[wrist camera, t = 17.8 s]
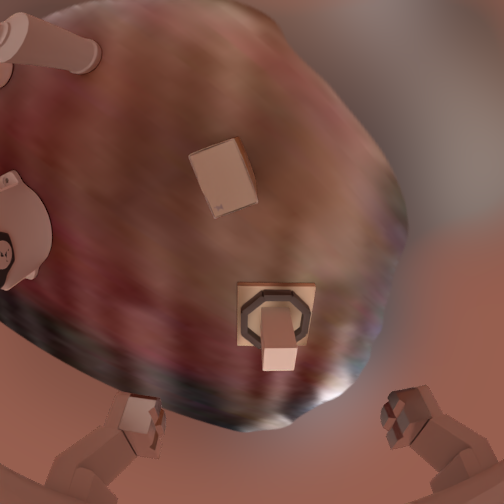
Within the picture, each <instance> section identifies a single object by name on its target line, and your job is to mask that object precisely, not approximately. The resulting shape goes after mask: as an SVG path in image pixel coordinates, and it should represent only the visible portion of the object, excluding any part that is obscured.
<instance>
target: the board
mask: <svg viewBox="0 0 504 504" xmlns="http://www.w3.org/2000/svg"><path fill="white" fill-rule="evenodd" d="M315 289H316V286H315V283H249V282H238V306H237V346H255V347H257V348H258V349H260V348H261V333H260V323H261V307H289V310H290V315H291V319H292V324H293V329H294V334H295V338H296V343H297V345H306V343H307V338H308V332H309V326H310V320H311V314H312V308H313V302H314V295H315ZM261 350H262V349H261Z"/></svg>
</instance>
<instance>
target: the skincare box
mask: <svg viewBox="0 0 504 504" xmlns="http://www.w3.org/2000/svg"><path fill="white" fill-rule="evenodd" d="M188 158H189V160H190V163H191V165H192V168H193V170H194V173H195V175H196V178H197V180H198V183H199V185H200V187H201V190H202V192H203V194H204V197H205V199H206V201H207V204H208V206H209V208H210V211H211V213H212V215H213V218H214V219H216V218H219V217H222V216H225V215H227V214H230V213H233V212H236V211H239V210H242V209H244V208H247V207H249V206H252V205H254V204H257V203H258V196H257V186H256V178H255V175H254V172H253V169H252V166H251V164H250V161H249V158H248V156H247V153H246V151H245V148H244V146H243V144H242V141H241V139H240V137H235V138H232V139H229V140H226V141H223V142H220V143H217V144H214V145H211V146H209V147H206V148H203V149H201V150H198V151H196V152H194V153H191V154H189V157H188Z"/></svg>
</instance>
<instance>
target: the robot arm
mask: <svg viewBox="0 0 504 504" xmlns="http://www.w3.org/2000/svg"><path fill="white" fill-rule="evenodd" d="M51 243H52V230H51V224H50V220H49V216H48V213H47V211H46V209H45V206H44V205H43V203H42V201H41V200H40V198H39V197H38V196H37V194H36V193H35V192H34V191H33V190H31V189H30V188H29V187H28V186H26V185H25V184H24V183H23V181H22V179H21V177H20V176H19V174H18V173H17V172H16V171H15V170H12V171H10V172H8V173H6V174H4V175H2V176H0V289H3V290H5V291H7V290H9V289H11V288H12V287H13V286H15V285H16V284H17V283H19V282H20V281H22V280H23V279H24V278H27V279H30V280H32V279H34V278H35V277H36V276H37V274H38V270H39V266H40V265H41V264H42V262H43V261H44V260H45V259H46V258H47V256H48V254H49V252H50V249H51ZM388 400H389V401H388V402H387V403H386V404H385V405H384V406H383V408H382V410H381V423H382V426H383V428H384V429H386V430H387V431H388V433H387V436H386V437H387V440H388V443H389V445H390V448H391V449H397V448H402V447H406V446H410V447H411V448H412V449H413V450H414V451H415V452H416V453H417V454H419V455H420V456H421V457H422V458H423V459H424V460H425V461H426V462H428V463H429V464H430V465H431V466H432V467H433V468H434V469H436V470H437V471H438V472H439V473H438V474H437V475H436V476H435V477H434V478H433V479H432V480H431V482H430V485H431V487H432V491H433V493H434V494H431V495H429V496H426V497H423V498H421V499H418V500H415V501H412V502H409V503H406V504H504V459H503V460H501V461H500V462H498V460H497V458H496V456H495V454H494V452H493V450H492V448H491V446H490V444H489V443H488V440H487V439H486V438H484V437H483V436H481V435H479V434H478V433H476V432H474V431H473V430H471V429H470V428H468V427H466V426H465V425H463V424H462V423H460V422H458V421H457V420H455V419H454V418H452V417H450V416H449V415H447V414H445V415H444V414H443V412H442V411H441V409H440V407H439V405H438V403H437V401H436V399H435V398H434V396H433V394H432V392H431V390H430V388H429V387H428V386H427V385H423V386H419V387H412V388H407V389H402V390H397V391H392V392H391V393H390V394H389V396H388ZM161 405H162V402H161V399H160V398H158V397H151V396H145V395H138V394H132V393H126V392H120V391H119V392H118V393H117V394H116V395H115V398H114V400H113V403H112V405H111V408H110V410H109V413H108V416H107V418H106V421H105V424H104V426H99V427H97V428H96V429H95V430H93V431H92V432H91V433H89V434H88V435H86V436H85V437H83V438H82V439H81V440H79V441H78V442H76V443H75V444H73V445H72V446H71V447H69V448H68V449H66V450H65V451H63V452H62V453H61V454H59V455H58V456H56V457H55V459H54V462H53V464H52V467H51V469H50V472H49V474H48V477H47V480H46V483H45V485H41V484H39V483H37V482H35V481H33V480H31V479H28V478H27V477H25V476H23V475H20V474H19V473H16V472H15V471H13V470H11V469H9V468H7V467H6V466H4V465H2V464H0V504H117V500H118V498H117V497H116V495H115V494H114V493H113V492H112V491H111V490H110V489H108V487H107V486H108V485H109V484H110V483H111V482H112V481H113V480H114V479H115V478H116V477H117V476H118V475H119V474H120V473H121V472H122V471H123V470H124V469H125V468H126V467H127V466H128V465H129V464H130V463H131V462H132V461H133V460H134V459H135V458H136V457H137V456H140V457H147V458H154V459H159V458H160V453H161V448H162V443H161V440H160V438H161V437H162V436H163V435H164V434H165V428H166V416H165V412H164V410H162V409H161Z"/></svg>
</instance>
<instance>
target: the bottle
mask: <svg viewBox="0 0 504 504" xmlns="http://www.w3.org/2000/svg"><path fill="white" fill-rule="evenodd" d="M101 54H102V51H101V48H100V46H99V44H98V43H96V42H95V41H94V40H92V39H86V38H83V37H80V36H78V35H76V34H74V33H72V32H69V31H67V30H65V29H63V28H60V27H58V26H56V25H53V24H51V23H49V22H46V21H44V20H41V19H39V18H36V17H34V16H31V15H28V14H25V13H16V14H14V15H12V16H10V17H9V18H8V19H7V20H6V21H5V22H2V23H0V62H1V63H14V64H25V65H34V66H42V67H50V68H57V69H63V70H69V71H70V72H71V73H74V74H85V73H89V72H90V71H92V70H93V69H95V67H96V66H97V65H98V64H99V61H100V59H101Z"/></svg>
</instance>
